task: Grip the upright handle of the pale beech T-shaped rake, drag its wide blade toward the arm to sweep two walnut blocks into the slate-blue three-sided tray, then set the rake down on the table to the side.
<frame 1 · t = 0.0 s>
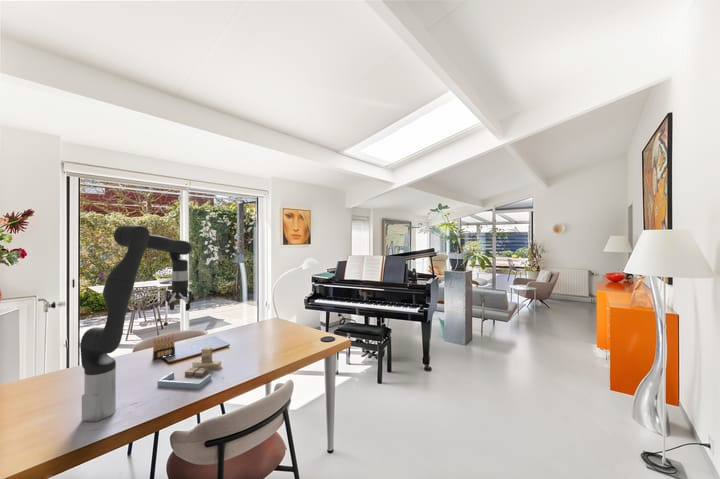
hand: (179, 310, 164), 29 cm above the table, tool pointing down, fingers open, 8 cm apart
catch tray: (184, 383, 145), on the table
rake: (206, 367, 163), on the table
block 2: (201, 375, 154), on the table
block 1: (192, 374, 155), on the table
ammunition clip: (164, 357, 175), on the table
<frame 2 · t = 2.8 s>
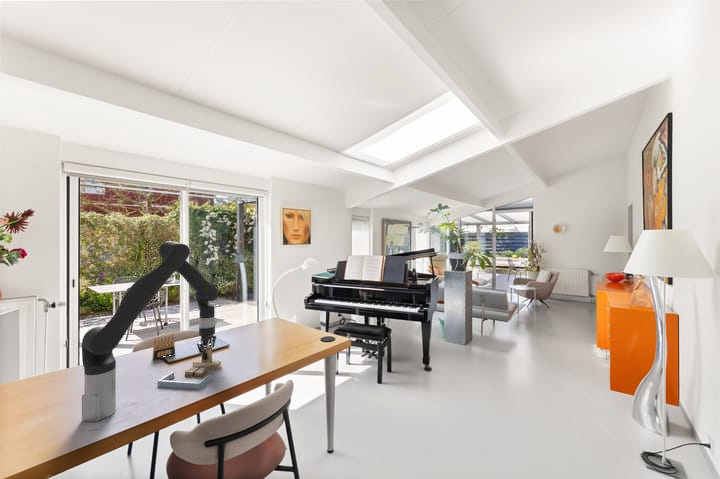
hand: (206, 358, 163), 5 cm above the table, tool pointing down, fingers closed on rake, 3 cm apart
rake: (206, 367, 163), on the table, touching gripper
everything else where it was.
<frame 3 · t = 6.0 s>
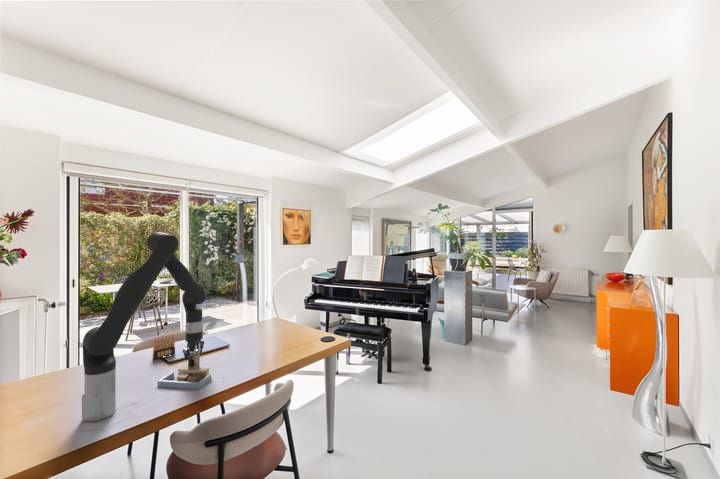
hand: (193, 365, 152), 5 cm above the table, tool pointing down, fingers closed on rake, 3 cm apart
rake: (193, 374, 152), point 1 cm above the table, touching gripper
block 2: (194, 380, 148), on the table
block 1: (184, 380, 148), on the table
everything else where it was.
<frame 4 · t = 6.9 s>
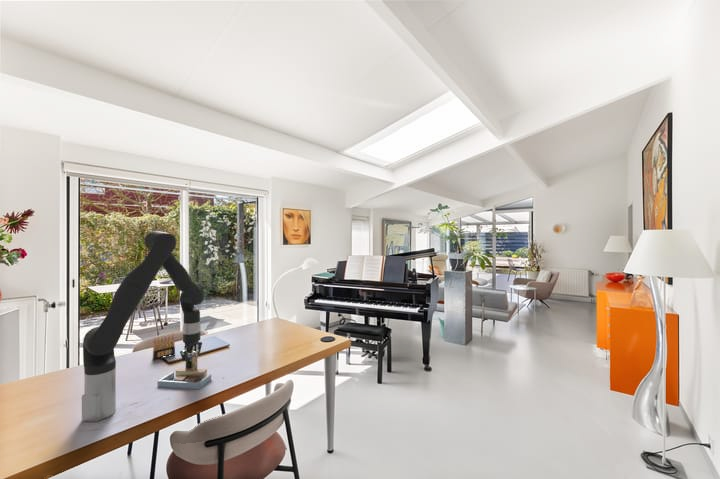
hand: (191, 366, 150), 6 cm above the table, tool pointing down, fingers closed on rake, 3 cm apart
rake: (191, 376, 150), point 1 cm above the table, touching block 2, gripper
block 2: (192, 383, 146), on the table, touching rake
block 1: (181, 382, 146), on the table
everything else where it was.
when the fingers open (6 cm above the table, at t = 13.1 s): rake drops 1 cm, on the table.
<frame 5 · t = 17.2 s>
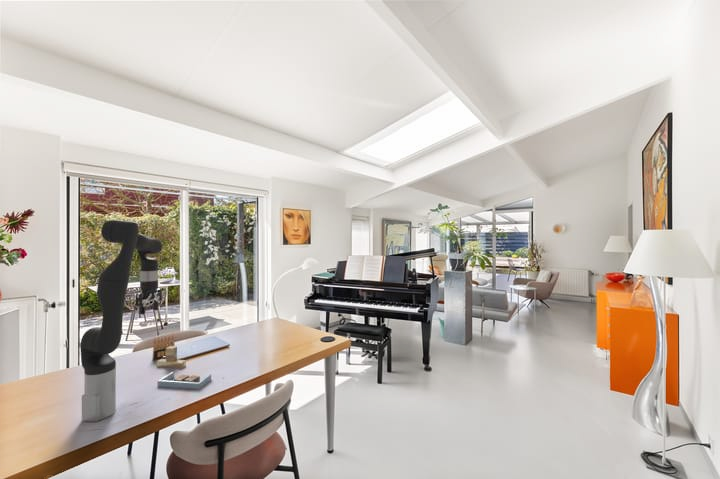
hand: (149, 312, 156), 30 cm above the table, tool pointing down, fingers open, 8 cm apart
rake: (171, 366, 164), on the table
block 2: (192, 383, 146), on the table
everything else where it was.
at the end: block 1 inside the target area (2.2 cm from its centre), on the table; block 2 inside the target area (3.1 cm from its centre), on the table; rake inside the target area (0.1 cm from its centre), on the table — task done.
